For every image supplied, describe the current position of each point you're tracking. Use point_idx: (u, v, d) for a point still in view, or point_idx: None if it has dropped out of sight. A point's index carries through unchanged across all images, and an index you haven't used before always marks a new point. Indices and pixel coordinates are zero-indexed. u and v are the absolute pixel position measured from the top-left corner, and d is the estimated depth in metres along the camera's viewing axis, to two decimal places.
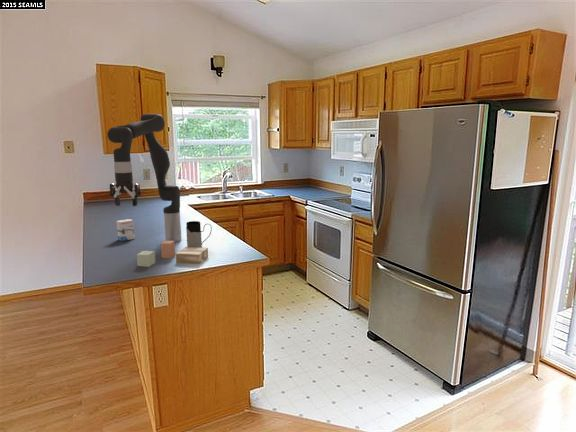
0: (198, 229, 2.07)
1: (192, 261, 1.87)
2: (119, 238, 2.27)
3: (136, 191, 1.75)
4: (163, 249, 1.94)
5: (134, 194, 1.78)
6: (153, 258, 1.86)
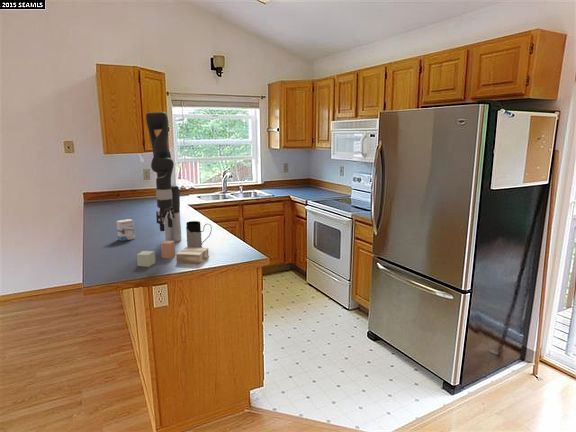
0: (198, 229, 2.07)
1: (193, 261, 1.86)
2: (119, 238, 2.27)
3: (173, 213, 1.99)
4: (163, 249, 1.94)
5: (168, 217, 1.97)
6: (153, 258, 1.86)
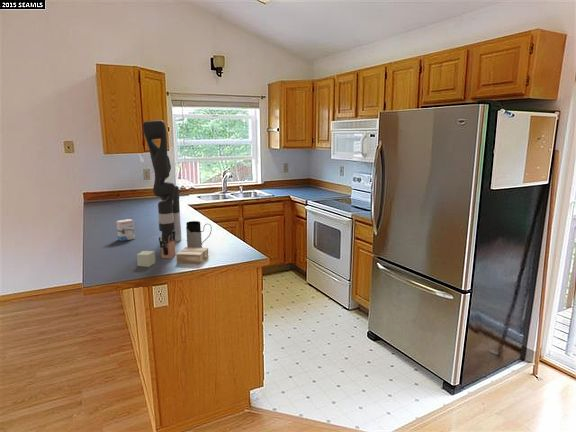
0: (198, 229, 2.07)
1: (193, 261, 1.86)
2: (119, 238, 2.27)
3: (174, 237, 2.01)
4: None
5: None
6: (153, 258, 1.86)
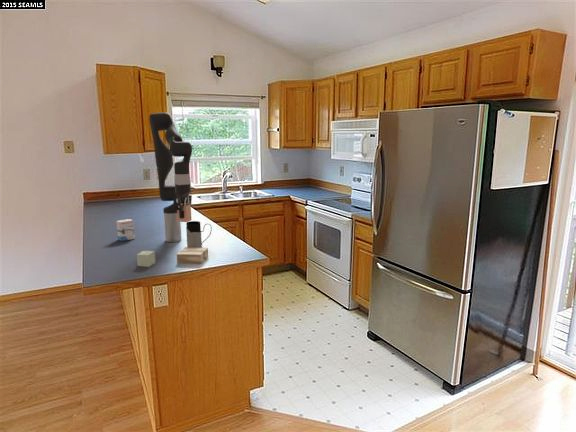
0: (198, 229, 2.07)
1: (194, 261, 1.86)
2: (119, 238, 2.27)
3: (190, 201, 1.93)
4: None
5: None
6: (153, 258, 1.86)
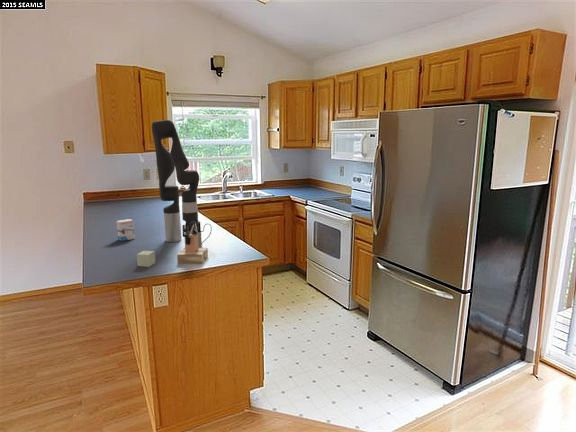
0: None
1: (194, 261, 1.86)
2: (119, 238, 2.27)
3: (198, 225, 1.96)
4: None
5: (193, 229, 1.94)
6: (153, 258, 1.86)
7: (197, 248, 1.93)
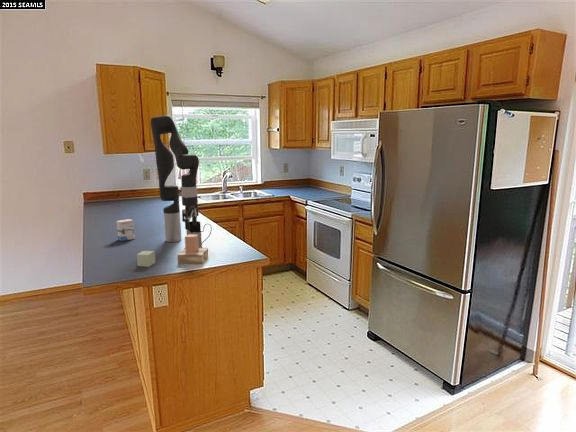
0: (198, 229, 2.07)
1: (195, 262, 1.86)
2: (119, 238, 2.27)
3: (197, 210, 1.94)
4: (187, 243, 1.89)
5: (192, 215, 1.93)
6: (153, 258, 1.86)
7: (197, 248, 1.92)
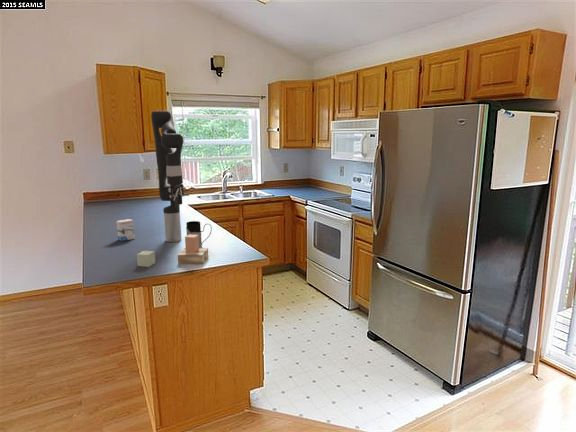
0: (198, 229, 2.07)
1: (195, 262, 1.86)
2: (119, 238, 2.27)
3: (183, 190, 1.97)
4: (187, 243, 1.88)
5: (178, 194, 1.96)
6: (153, 258, 1.86)
7: (198, 249, 1.92)
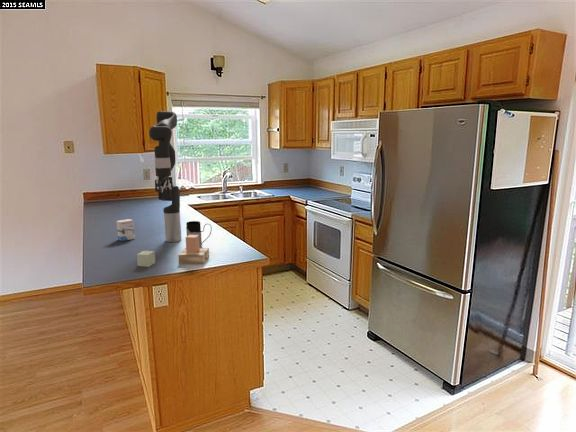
0: (198, 229, 2.07)
1: (196, 262, 1.86)
2: (119, 238, 2.27)
3: (172, 183, 2.00)
4: (188, 243, 1.88)
5: None
6: (153, 258, 1.86)
7: (198, 249, 1.91)
